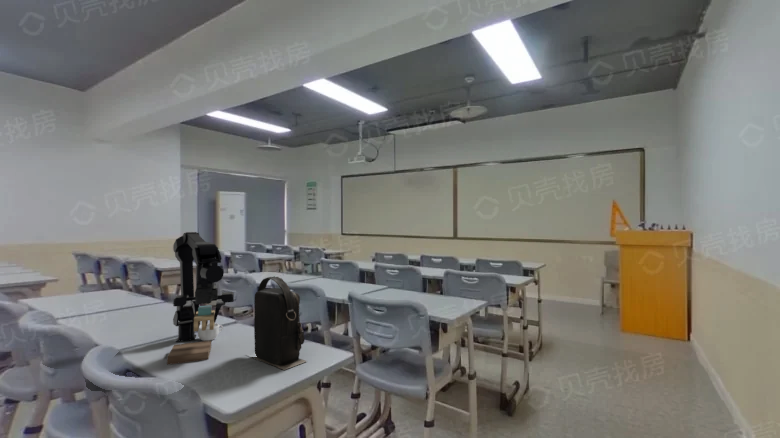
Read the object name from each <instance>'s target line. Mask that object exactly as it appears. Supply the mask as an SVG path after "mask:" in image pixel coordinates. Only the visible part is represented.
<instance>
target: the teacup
mask: <svg viewBox="0 0 780 438" xmlns="http://www.w3.org/2000/svg"><path fill="white" fill-rule="evenodd" d="M220 327H221V328H220ZM223 329H224V326H223V324H219V323H216V322H215V324H214V330H210V322H208V324H207V327H206V330H204V331H202V324H200V326H199V329H198V331H197V336H198V339H199V340H201V342H204V341H213V340H215V339H217V337H218V336H219V333H221V332H222V331H223Z"/></svg>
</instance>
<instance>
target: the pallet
mask: <svg viewBox="0 0 780 438" xmlns="http://www.w3.org/2000/svg"><path fill="white" fill-rule="evenodd" d="M214 316H215V309H212V312H211V315H202V316H198V312H196V315H195V317H194V332H195V333H196V332H198V329H199V326H200V325H202V331H204V330H206V327H207V324H209V323H210V330H214V324H215V323H216V322H214Z"/></svg>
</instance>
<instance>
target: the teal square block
mask: <svg viewBox="0 0 780 438" xmlns="http://www.w3.org/2000/svg"><path fill="white" fill-rule="evenodd" d="M212 307H213V305H211V304H210V305H209V304H207V305H199V308H198V316H202V315H211V312H212V310H213V309H212Z"/></svg>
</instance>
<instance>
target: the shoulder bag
mask: <svg viewBox="0 0 780 438" xmlns="http://www.w3.org/2000/svg"><path fill="white" fill-rule="evenodd" d="M270 280H271V281H273V282H275V284H277V286H279V287H274V288H273V287H271V288H267V286H268V283H269V282H270ZM253 300H254V301H253V303H254V318H253V319H254V321H253V322H254V323H253V324H254V325H253V326H254V327H253V328H254V329H253V330H254V352H255V354H256V356H257V357H254V358H255V359H254V360H256V361H258V362H262V363H264V364H268V365H269V366H273V367H276V368H279V369H280V370H284V371H285V370H288V369H290V368H293V367H296V366H298V365H301V364H303V363H307V362H308V361H307V360H305V359H302V358H300V351H301V349H302V345H303V344H304V343H305V340H306V339H305V332H304V329H303V327H302V323H301V321H300V320H301V319H300V304H301V303H300V301H301V296H300V294H299V293H297V292H294V291H291V290H290V286H288V284H287V282H286V281H285V280H284V279H283V278H282V277H279V276H268V277H265V278H263V279H262V280H261V281H260V283H259V286H258V289H257V291H256V292H255V293H254V299H253Z"/></svg>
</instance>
